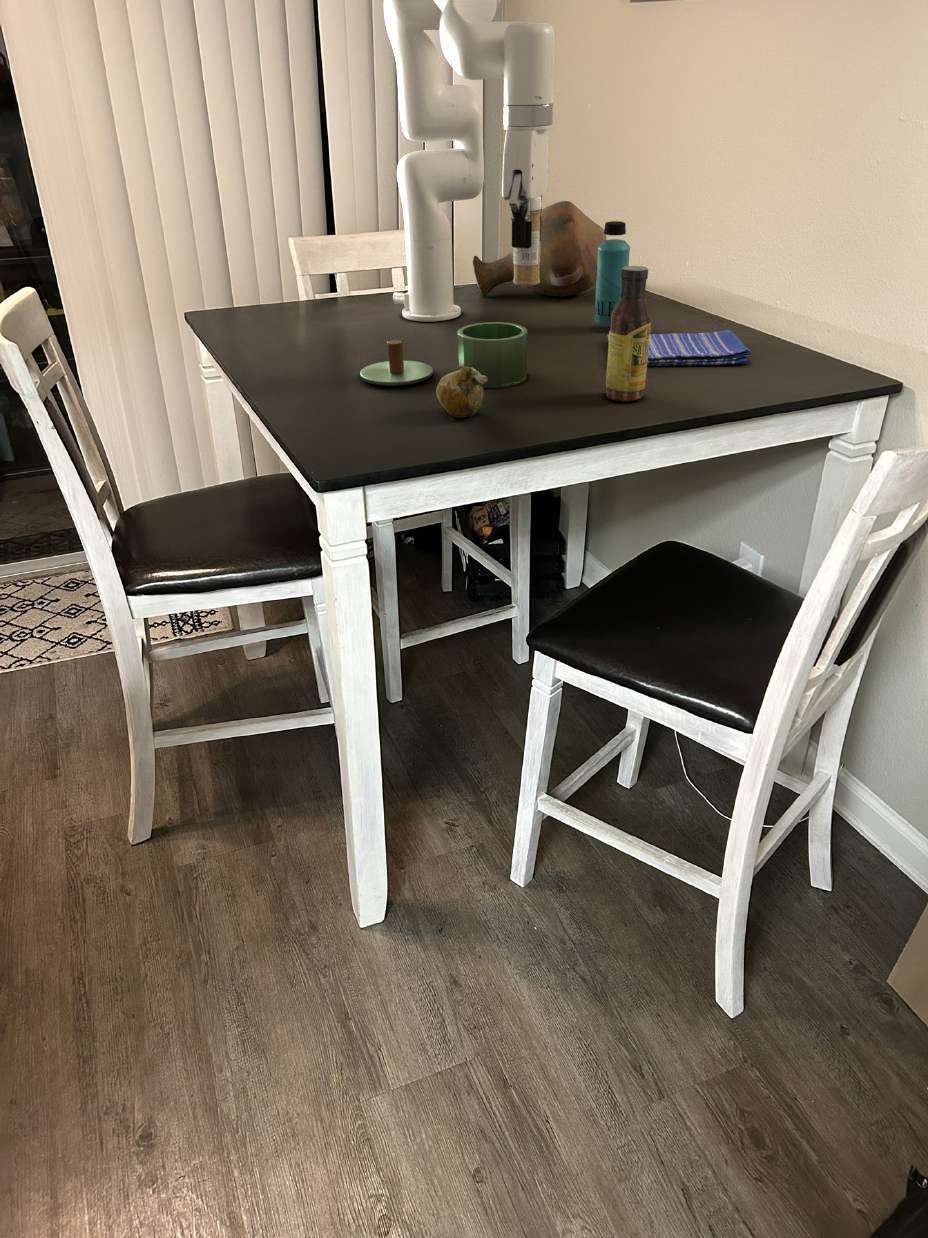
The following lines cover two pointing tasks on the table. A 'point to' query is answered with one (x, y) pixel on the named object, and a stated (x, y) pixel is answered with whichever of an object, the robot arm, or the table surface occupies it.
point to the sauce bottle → (629, 338)
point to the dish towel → (696, 349)
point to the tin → (494, 352)
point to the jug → (553, 254)
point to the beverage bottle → (610, 272)
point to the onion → (461, 392)
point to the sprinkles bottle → (529, 251)
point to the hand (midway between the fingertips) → (526, 243)
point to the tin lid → (396, 369)
